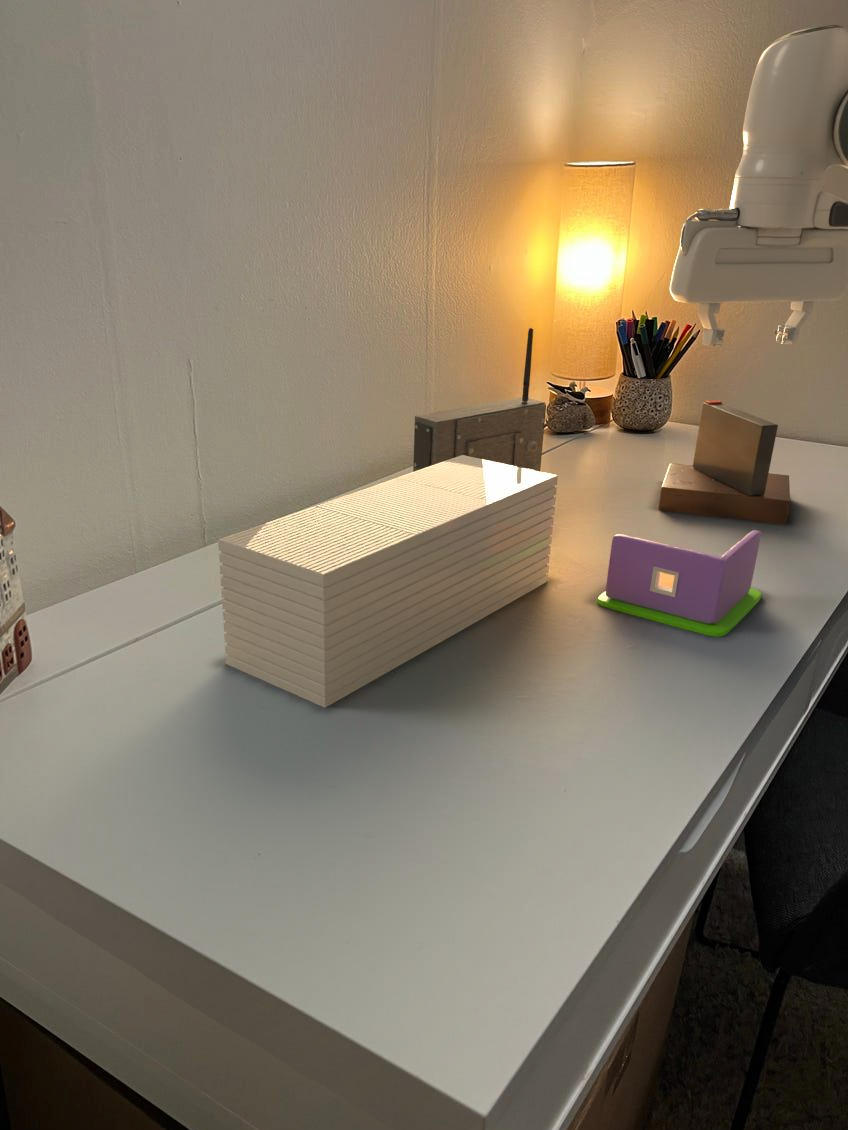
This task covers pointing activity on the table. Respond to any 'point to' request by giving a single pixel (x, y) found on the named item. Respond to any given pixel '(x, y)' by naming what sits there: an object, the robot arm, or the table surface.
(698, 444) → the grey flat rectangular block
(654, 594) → the miniature room corner
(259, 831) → the table surface
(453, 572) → the stack of papers
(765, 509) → the stand
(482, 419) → the electronic device
